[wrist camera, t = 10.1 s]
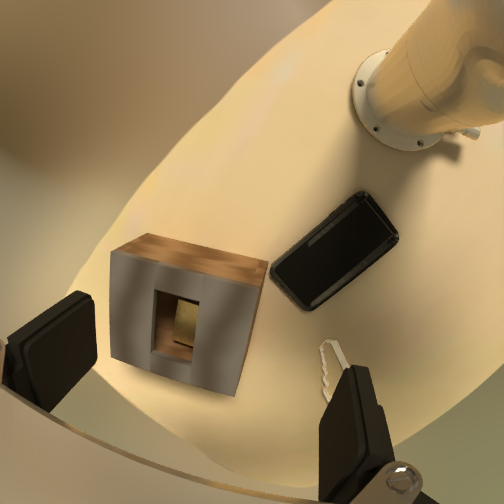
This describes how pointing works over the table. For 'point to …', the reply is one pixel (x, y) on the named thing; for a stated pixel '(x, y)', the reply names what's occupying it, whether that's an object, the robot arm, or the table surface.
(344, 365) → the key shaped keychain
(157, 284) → the box
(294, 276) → the phone
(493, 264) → the table surface
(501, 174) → the table surface
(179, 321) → the wooden block
